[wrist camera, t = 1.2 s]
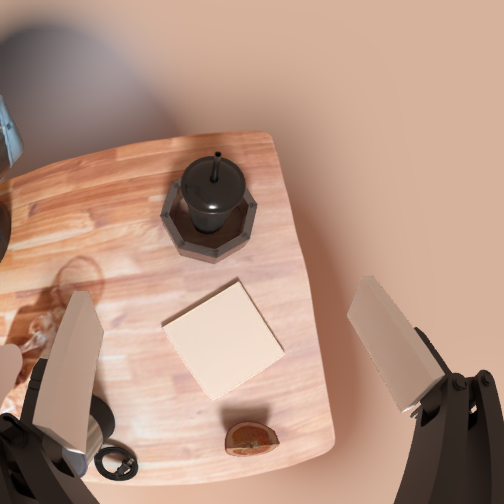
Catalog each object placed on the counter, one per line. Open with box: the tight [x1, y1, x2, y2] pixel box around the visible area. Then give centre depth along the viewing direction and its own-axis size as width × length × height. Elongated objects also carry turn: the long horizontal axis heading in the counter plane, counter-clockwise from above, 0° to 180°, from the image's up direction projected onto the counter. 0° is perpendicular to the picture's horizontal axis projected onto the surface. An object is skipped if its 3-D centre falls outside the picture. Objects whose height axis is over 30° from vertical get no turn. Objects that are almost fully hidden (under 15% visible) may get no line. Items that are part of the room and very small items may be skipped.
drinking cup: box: [181, 152, 246, 235], centre depth 34 cm, size 8×8×20 cm
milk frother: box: [62, 395, 138, 481], centre depth 25 cm, size 14×16×15 cm
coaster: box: [162, 281, 285, 401], centre depth 40 cm, size 14×14×1 cm
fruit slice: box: [225, 422, 280, 456], centre depth 35 cm, size 8×7×5 cm
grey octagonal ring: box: [160, 177, 257, 264], centre depth 41 cm, size 13×13×5 cm
